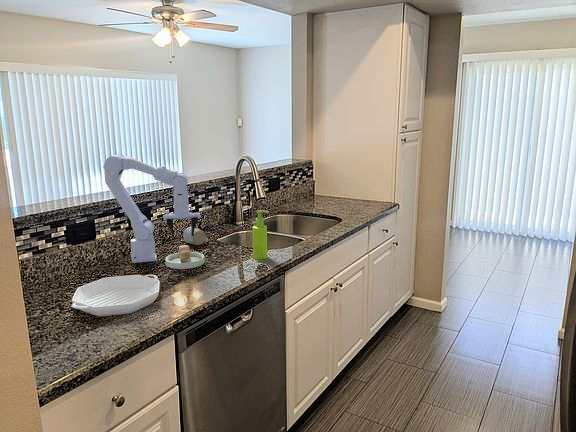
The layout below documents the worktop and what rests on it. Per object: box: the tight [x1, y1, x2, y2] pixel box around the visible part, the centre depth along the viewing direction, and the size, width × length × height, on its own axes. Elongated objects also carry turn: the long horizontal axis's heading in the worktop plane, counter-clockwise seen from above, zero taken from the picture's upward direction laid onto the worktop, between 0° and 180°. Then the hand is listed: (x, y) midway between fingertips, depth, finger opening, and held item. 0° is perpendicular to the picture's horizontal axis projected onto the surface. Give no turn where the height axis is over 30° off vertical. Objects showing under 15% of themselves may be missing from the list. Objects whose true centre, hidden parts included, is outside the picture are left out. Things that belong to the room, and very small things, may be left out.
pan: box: [70, 274, 161, 317], centre depth 143 cm, size 31×26×4 cm
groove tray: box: [165, 251, 205, 270], centre depth 181 cm, size 15×15×2 cm
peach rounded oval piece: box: [178, 244, 190, 256], centre depth 184 cm, size 4×4×5 cm
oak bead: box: [180, 250, 192, 263], centre depth 177 cm, size 4×4×5 cm
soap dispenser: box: [252, 209, 270, 260], centre depth 185 cm, size 6×7×20 cm
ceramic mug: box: [182, 226, 209, 246], centre depth 207 cm, size 11×8×8 cm
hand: (183, 236), depth 184 cm, fingers open, 7 cm apart
